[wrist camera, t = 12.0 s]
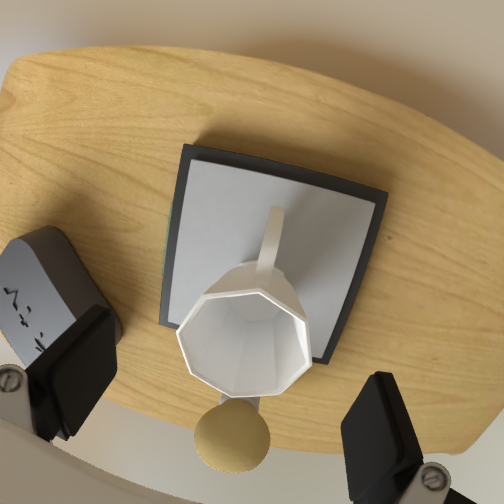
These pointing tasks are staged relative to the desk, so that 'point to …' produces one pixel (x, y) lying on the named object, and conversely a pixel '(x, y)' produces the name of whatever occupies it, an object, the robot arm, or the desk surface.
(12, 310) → the streaming box
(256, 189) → the scale
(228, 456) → the light bulb
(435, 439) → the desk surface
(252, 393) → the cup
